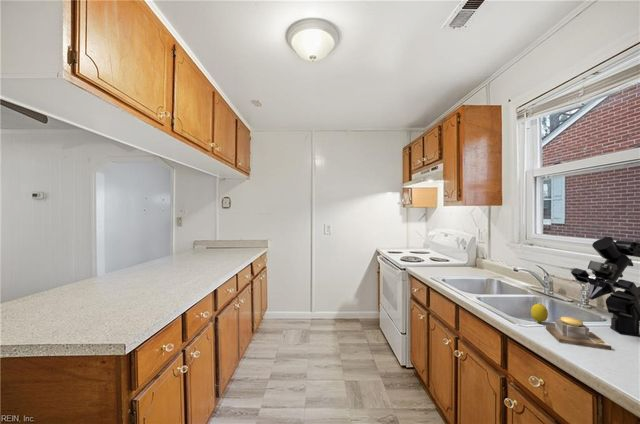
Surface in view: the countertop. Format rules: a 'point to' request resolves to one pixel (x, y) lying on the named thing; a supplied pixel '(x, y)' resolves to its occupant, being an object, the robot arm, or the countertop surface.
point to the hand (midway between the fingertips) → (590, 298)
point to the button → (571, 321)
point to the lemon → (539, 312)
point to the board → (576, 335)
